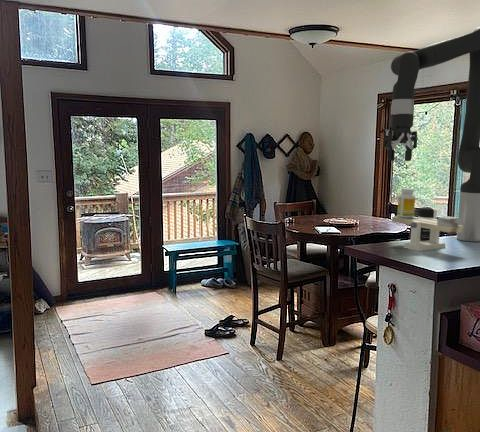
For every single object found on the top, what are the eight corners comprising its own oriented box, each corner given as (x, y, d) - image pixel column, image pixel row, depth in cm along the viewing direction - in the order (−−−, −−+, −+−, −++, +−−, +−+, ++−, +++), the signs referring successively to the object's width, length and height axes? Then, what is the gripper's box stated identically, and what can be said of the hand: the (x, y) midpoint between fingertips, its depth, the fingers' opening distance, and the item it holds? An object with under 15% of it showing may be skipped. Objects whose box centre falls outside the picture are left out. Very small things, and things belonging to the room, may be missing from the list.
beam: (406, 220, 169) (407, 209, 169) (463, 230, 151) (464, 218, 150) (391, 221, 166) (392, 210, 165) (448, 232, 147) (449, 219, 146)
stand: (429, 244, 165) (431, 218, 164) (444, 247, 160) (446, 220, 159) (403, 247, 158) (405, 220, 157) (418, 251, 153) (420, 223, 152)
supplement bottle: (394, 216, 165) (396, 188, 164) (402, 215, 169) (404, 187, 167) (408, 218, 161) (410, 189, 160) (416, 217, 165) (419, 189, 163)
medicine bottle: (417, 242, 169) (419, 208, 167) (413, 238, 176) (415, 206, 174) (438, 243, 168) (441, 208, 166) (433, 239, 175) (435, 206, 173)
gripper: (407, 115, 173) (404, 160, 175) (379, 113, 166) (376, 160, 168) (424, 113, 167) (422, 161, 169) (396, 111, 159) (393, 161, 161)
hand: (399, 160), depth 168 cm, fingers open, 8 cm apart
